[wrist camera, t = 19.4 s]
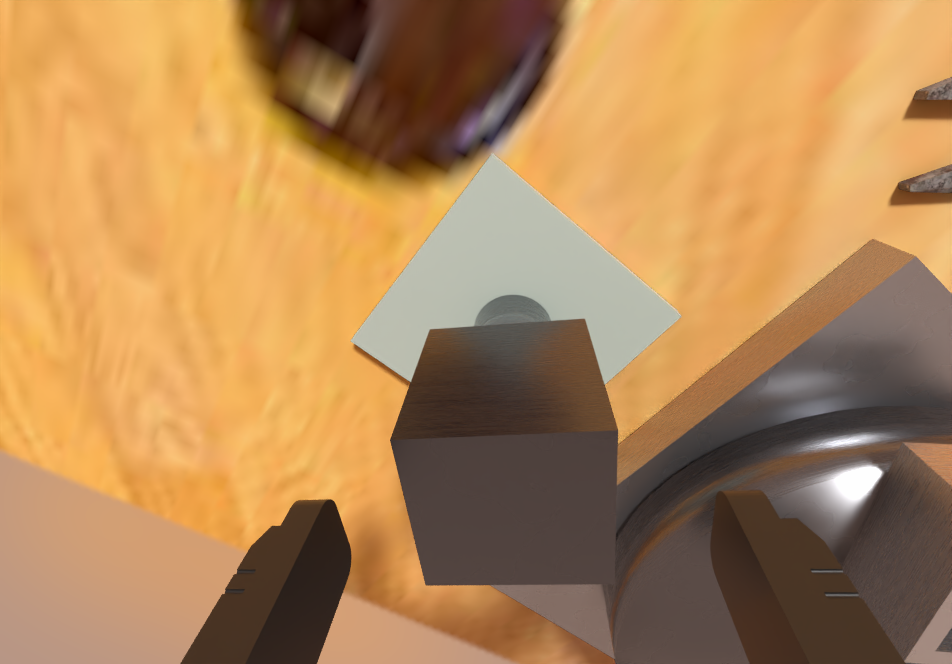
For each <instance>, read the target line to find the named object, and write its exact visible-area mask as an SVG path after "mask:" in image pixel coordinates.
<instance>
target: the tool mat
mask: <svg viewBox="0 0 952 664" xmlns="http://www.w3.org/2000/svg"><path fill="white" fill-rule="evenodd" d="M504 295H521V296H526V297H528V298H531V299H533V300H535V301H536V302H538V303H539V304H540V305H541V306H542V307H543V308H544V309H545V310H546V311H547V313H548V315H549V317H550V319H551V321H556V320H570V319H584V318H585V321H586V324H587V327H588V331H589V334H590V337H591V341H592V344H593V348H594V351H595V354H596V358H597V361H598V364H599V368H600V371H601V375H602V378H603V381H604V385H605V384H606V383H607V382H608V381H610V380H611V379H612V378H613V377H614V376H615V375H616V374H617V373H619V372H620V371H621V370H622V369H623V368H624V367H625V366H626V365H628V364H629V363H630V362H631V361H632V360H633V359H634V358H635V357H637V356H638V355H639V354H640V353H641V352H642V351H643V350H644V349H646V348H647V347H648V346H649V345H650V344H651V343H652V342H653V341H655V340H656V339H657V338H658V337H659V336H660V335H661V334H662V333H664V332H665V331H666V330H667V329H668V328H669V327H670V326H671V325H673V324H674V323H675V322H676V321H677V320H678V319H679V318H680V317H681V315H680V314H679V312H678V311H677V310H676V309H675V308H674V307H673V306H672V305H670V304H669V303H668V302H667V301H666V300H665V299H663V298H662V297H661V296H660V295H659V294H658V293H656V292H655V291H654V290H653V289H652V288H650V287H649V286H648V285H647V284H646V283H645V282H643V281H642V280H641V279H640V278H639V277H638V276H636V275H635V274H634V273H633V272H632V271H631V270H629V269H628V268H627V267H626V266H625V265H623V264H622V263H621V262H620V261H619V260H618V259H616V258H615V257H614V256H613V255H612V254H611V253H609V252H608V251H607V250H606V249H605V248H604V247H602V246H601V245H600V244H599V243H598V242H596V241H595V240H594V239H593V238H592V237H591V236H589V235H588V234H587V233H586V232H585V231H584V230H582V229H581V228H580V227H579V226H578V225H577V224H575V223H574V222H573V221H572V220H571V219H569V218H568V217H567V216H566V215H565V214H564V213H562V212H561V211H560V210H559V209H558V208H557V207H555V206H554V205H553V204H552V203H551V202H550V201H548V200H547V199H546V198H545V197H544V196H542V195H541V194H540V193H539V192H538V191H537V190H535V189H534V188H533V187H532V186H531V185H530V184H528V183H527V182H526V181H525V180H524V179H523V178H521V177H520V176H519V175H518V174H517V173H515V172H514V171H513V170H512V169H511V168H510V167H508V166H507V165H506V164H505V163H504V162H503V161H501V160H500V159H499V158H498V157H497V156H496V155H494V154H493V153H492V154H491V155H490V157H489V158H488V159H487V161H486V162H485V163H484V165H483V166H482V167H481V169H480V170H479V171H478V173H477V174H476V175H475V177H474V178H473V179H472V180H471V182H470V183H469V184H468V186H467V187H466V188H465V190H464V191H463V192H462V194H461V195H460V196H459V198H458V199H457V200H456V202H455V203H454V204H453V206H452V207H451V208H450V210H449V211H448V212H447V213H446V215H445V216H444V217H443V219H442V220H441V221H440V223H439V224H438V225H437V227H436V228H435V229H434V231H433V232H432V233H431V235H430V236H429V237H428V239H427V240H426V241H425V243H424V244H423V245H422V246H421V248H420V249H419V250H418V252H417V253H416V254H415V256H414V257H413V258H412V260H411V261H410V262H409V264H408V265H407V266H406V268H405V269H404V270H403V272H402V273H401V274H400V276H399V277H398V278H397V279H396V281H395V282H394V283H393V285H392V286H391V287H390V289H389V290H388V291H387V293H386V294H385V295H384V297H383V298H382V299H381V301H380V302H379V303H378V305H377V306H376V307H375V309H374V310H373V311H372V312H371V314H370V315H369V316H368V318H367V319H366V320H365V322H364V323H363V324H362V326H361V327H360V328H359V330H358V331H357V332H356V334H355V335H354V336H353V338H352V339H351V342H352V343H354V344H355V345H357V346H358V347H360V348H361V349H363V350H364V351H366V352H367V353H368V354H370V355H371V356H373V357H374V358H376V359H377V360H379V361H380V362H382V363H383V364H385V365H386V366H387V367H389V368H390V369H392V370H393V371H395V372H396V373H398V374H399V375H401V376H402V377H404V378H405V379H407V380H408V381H409V382H411V380H412V377H413V375H414V372H415V369H416V366H417V363H418V361H419V358H420V355H421V352H422V349H423V347H424V344H425V341H426V338H427V335H428V333H429V330H430V329H442V328H456V327H470V326H474V324H475V320H476V317H477V315H478V313H479V312H480V310H481V309H482V308H483V307H484V306H485V305H486V304H487V303H488V302H490V301H491V300H493V299H495V298H498V297H501V296H504Z"/></svg>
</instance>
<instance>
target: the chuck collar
mask: <svg viewBox="0 0 952 664" xmlns="http://www.w3.org/2000/svg"><path fill="white" fill-rule="evenodd" d="M736 490H761V491H762V492H764V494H765V495H766V496H767V498H768V499H769V501H770V503H771V504H772V506H773V508H774V509H775V511H776V513H777V514H778V516H779V518H797V519H799V520H800V521H801V522H802V523H803V524H805V525H806V526H807V527H808V528H809V529H811V530H812V531H813V532H814V533H815V534H817V535H818V536H819V537H820V538H821V539H822V540H824V541H825V543H826V544H827V546H828V547H829V549H830V550H831V552H832V553H833V555H834V556H835V558H836V559H837V561H838V562H839V564H840V565H841V567H842V568H843V573H844V574H847V576H848V577H849V579H850V580H851V582H852V583H853V585H854V586H855V588H856V589H857V591H858V594H859V597H860V598H863V600H864V601H865V603H866V604H867V606H868V607H869V609H870V610H871V612H872V613H873V615H874V616H875V618H876V619H877V621H878V622H879V624H880V625H881V627H882V628H883V630H884V631H885V633H886V634H887V636H888V637H889V639H890V640H891V642H892V643H893V645H894V647H895V648H896V650H897V651H898V653H899V654H900V656H901V657H902V659H903V660H904V662H905V663H906V664H952V409H941V408H931V407H920V406H876V407H866V408H857V409H848V410H838V411H833V412H828V413H823V414H818V415H813V416H808V417H804V418H799V419H796V420H792V421H789V422H786V423H782V424H779V425H776V426H772V427H769V428H766V429H763V430H760V431H758V432H755V433H753V434H750V435H748V436H745V437H743V438H740V439H738V440H735V441H733V442H730V443H728V444H726V445H725V446H723V447H721V448H719V449H717V450H715V451H713V452H711V453H709V454H707V455H705V456H704V457H702V458H700V459H698V460H697V461H695V462H694V463H692V464H691V465H689V466H688V467H686V468H685V469H683V470H682V471H680V472H679V473H677V474H676V475H674V476H673V477H671V478H670V479H669V480H668V481H667V482H666V483H664V484H663V485H662V486H661V487H660V488H658V489H657V490H656V491H655V492H654V493H652V494H651V495H650V496H649V497H648V498H647V500H646V501H645V502H644V503H643V504H642V505H641V506H640V507H639V508H638V509H637V510H636V511H635V513H634V514H633V515H632V516H631V518H630V519H629V521H628V522H627V524H626V525H625V526H624V528H623V529H622V531H621V532H620V534H619V536H618V538H617V540H616V545H615V584H604V597H605V605H606V612H607V617H608V623H609V629H610V635H611V641H612V646H613V652H614V658H615V664H750V663H749V661H748V658H747V656H746V653H745V651H744V648H743V646H742V643H741V640H740V638H739V635H738V633H737V630H736V628H735V625H734V623H733V620H732V617H731V615H730V612H729V610H728V607H727V605H726V602H725V600H724V597H723V594H722V592H721V589H720V587H719V584H718V582H717V579H716V576H715V573H714V570H713V565H712V560H711V553H710V541H711V533H712V525H713V517H714V509H715V501H716V495H717V493H718V492H719V491H736Z"/></svg>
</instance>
